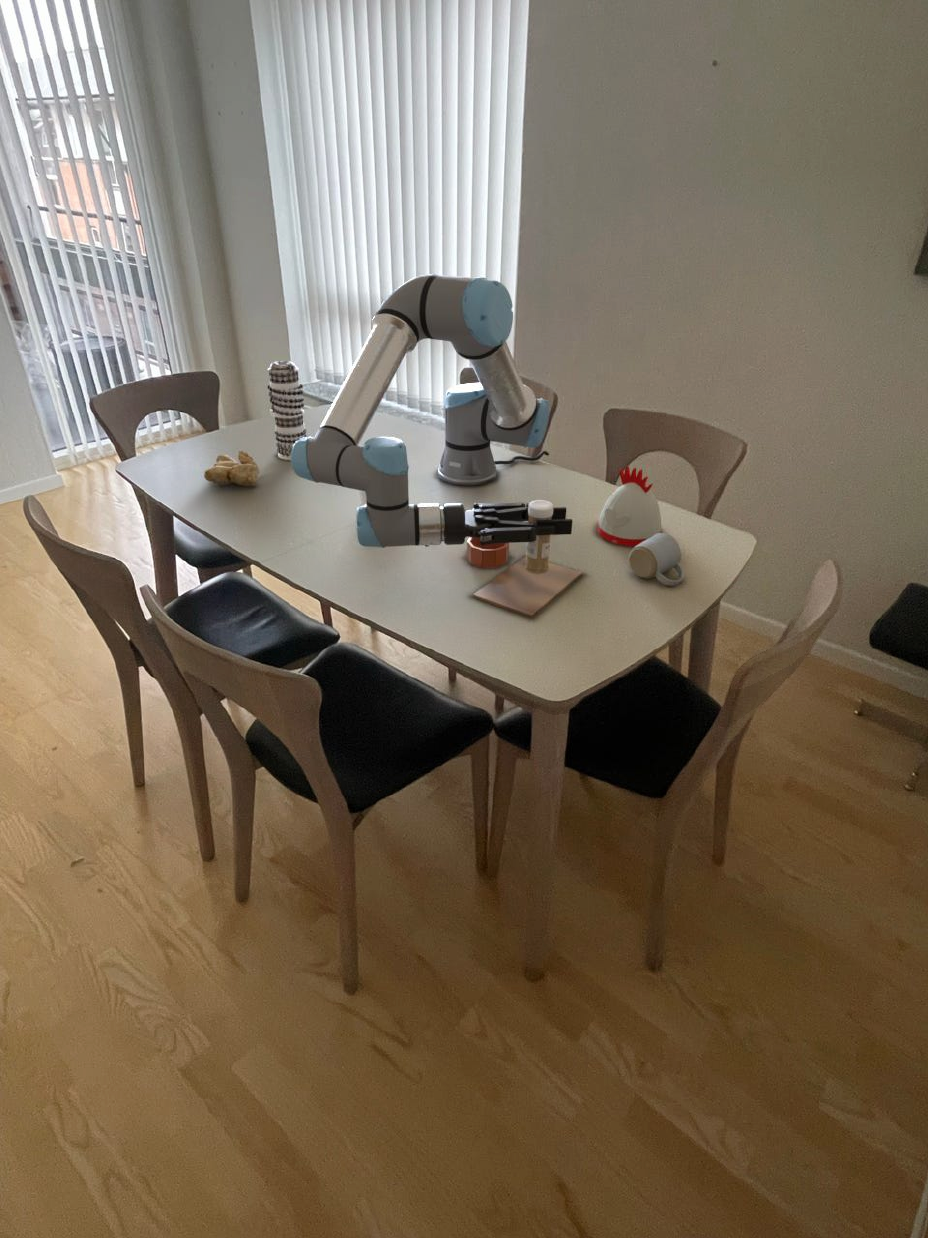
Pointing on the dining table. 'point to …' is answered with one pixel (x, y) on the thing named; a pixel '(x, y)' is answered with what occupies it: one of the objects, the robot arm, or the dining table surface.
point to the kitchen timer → (630, 512)
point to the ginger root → (233, 470)
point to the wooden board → (527, 588)
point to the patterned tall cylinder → (286, 406)
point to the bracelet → (487, 553)
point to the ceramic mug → (657, 558)
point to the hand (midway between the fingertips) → (568, 520)
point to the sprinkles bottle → (538, 538)
